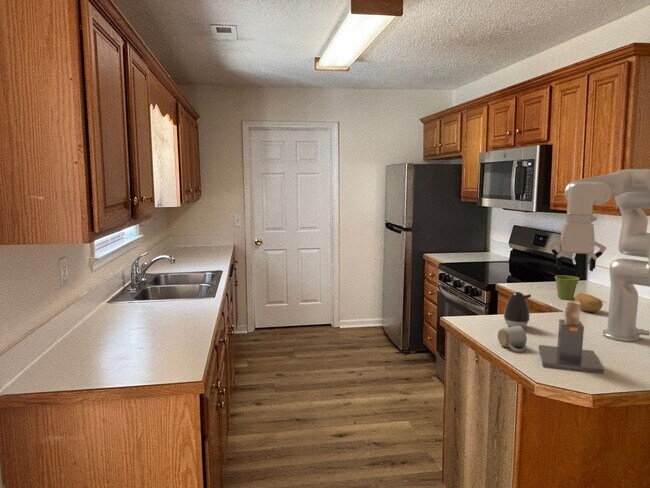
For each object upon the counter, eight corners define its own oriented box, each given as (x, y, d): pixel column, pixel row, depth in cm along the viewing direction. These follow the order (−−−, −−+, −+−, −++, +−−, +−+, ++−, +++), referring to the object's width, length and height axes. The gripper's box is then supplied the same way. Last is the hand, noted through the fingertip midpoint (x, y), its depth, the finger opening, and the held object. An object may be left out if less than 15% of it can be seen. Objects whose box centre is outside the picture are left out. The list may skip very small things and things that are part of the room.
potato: (591, 316, 222) (592, 299, 221) (568, 308, 235) (569, 292, 234) (608, 314, 224) (609, 297, 223) (585, 306, 238) (586, 291, 236)
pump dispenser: (531, 331, 200) (534, 295, 198) (505, 329, 202) (507, 294, 200) (526, 323, 210) (528, 289, 208) (501, 322, 212) (503, 288, 210)
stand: (592, 354, 174) (595, 318, 172) (602, 373, 157) (606, 333, 155) (538, 348, 180) (540, 313, 178) (542, 366, 163) (545, 327, 161)
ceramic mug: (495, 343, 185) (497, 324, 184) (515, 342, 187) (516, 323, 186) (511, 354, 175) (512, 333, 174) (531, 352, 177) (533, 332, 175)
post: (574, 352, 169) (578, 301, 167) (576, 356, 165) (580, 303, 163) (561, 351, 171) (565, 300, 168) (563, 355, 167) (567, 302, 164)
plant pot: (578, 297, 256) (580, 276, 255) (576, 302, 246) (578, 280, 245) (554, 294, 262) (556, 274, 261) (551, 299, 253) (552, 278, 251)
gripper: (605, 219, 162) (601, 269, 164) (549, 218, 168) (546, 266, 170) (610, 221, 155) (606, 273, 157) (551, 219, 161) (548, 269, 163)
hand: (575, 269), depth 164 cm, fingers open, 9 cm apart
